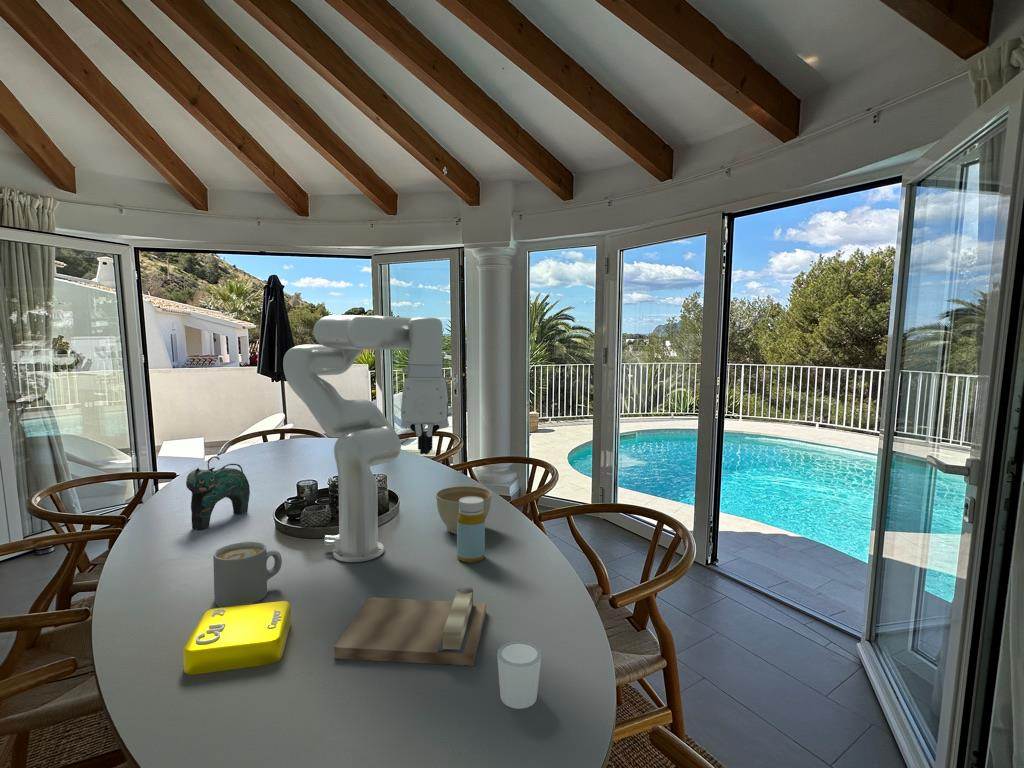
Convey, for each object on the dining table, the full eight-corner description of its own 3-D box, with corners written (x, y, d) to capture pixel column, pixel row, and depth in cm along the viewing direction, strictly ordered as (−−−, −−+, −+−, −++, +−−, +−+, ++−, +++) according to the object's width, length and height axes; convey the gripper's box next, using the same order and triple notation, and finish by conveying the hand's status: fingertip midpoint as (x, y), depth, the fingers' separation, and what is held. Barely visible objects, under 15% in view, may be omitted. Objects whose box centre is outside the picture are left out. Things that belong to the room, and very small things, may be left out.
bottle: (480, 564, 130) (481, 504, 129) (453, 562, 132) (453, 502, 131) (487, 553, 137) (488, 497, 136) (461, 551, 139) (462, 495, 137)
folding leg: (458, 600, 107) (458, 586, 107) (473, 601, 107) (474, 586, 106) (442, 649, 90) (442, 631, 90) (460, 649, 90) (460, 632, 89)
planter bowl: (425, 534, 150) (425, 497, 149) (452, 518, 165) (452, 483, 164) (476, 543, 144) (476, 504, 143) (499, 525, 159) (500, 489, 158)
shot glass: (495, 683, 85) (495, 641, 84) (537, 681, 85) (538, 639, 85) (497, 712, 78) (498, 667, 77) (544, 710, 79) (545, 665, 78)
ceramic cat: (198, 532, 149) (196, 462, 148) (181, 530, 151) (179, 460, 150) (253, 512, 168) (252, 449, 166) (237, 509, 170) (236, 448, 168)
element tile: (280, 665, 89) (280, 637, 89) (180, 679, 85) (179, 650, 85) (292, 620, 104) (291, 596, 103) (206, 630, 100) (205, 605, 99)
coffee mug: (218, 612, 105) (217, 563, 105) (211, 593, 113) (210, 547, 113) (289, 594, 113) (288, 549, 113) (278, 578, 121) (277, 535, 121)
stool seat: (334, 658, 91) (334, 645, 91) (369, 606, 109) (369, 596, 109) (473, 666, 89) (473, 653, 89) (485, 612, 107) (486, 601, 107)
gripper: (387, 372, 116) (388, 455, 118) (455, 374, 115) (454, 457, 117) (397, 371, 124) (397, 449, 125) (461, 372, 123) (460, 450, 124)
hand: (425, 452), depth 121 cm, fingers closed
